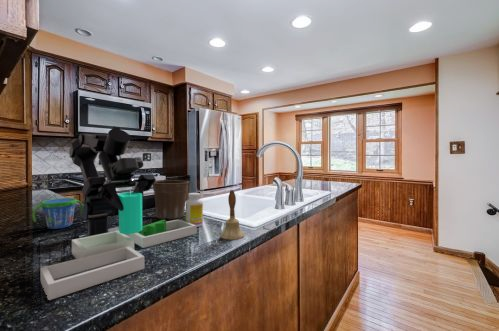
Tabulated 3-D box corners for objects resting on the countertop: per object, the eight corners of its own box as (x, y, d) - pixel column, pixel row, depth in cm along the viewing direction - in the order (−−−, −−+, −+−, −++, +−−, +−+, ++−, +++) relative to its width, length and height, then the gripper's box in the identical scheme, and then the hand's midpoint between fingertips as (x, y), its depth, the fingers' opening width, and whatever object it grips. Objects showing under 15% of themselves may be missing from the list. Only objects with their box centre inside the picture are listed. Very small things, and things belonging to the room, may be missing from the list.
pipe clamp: (147, 243, 76) (146, 228, 76) (138, 241, 77) (138, 227, 77) (171, 233, 86) (171, 220, 86) (163, 231, 88) (163, 219, 88)
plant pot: (174, 211, 121) (174, 179, 121) (196, 215, 112) (196, 181, 111) (144, 217, 108) (144, 181, 107) (166, 223, 99) (166, 184, 98)
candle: (115, 230, 68) (114, 188, 67) (136, 225, 72) (136, 186, 71) (124, 235, 64) (123, 191, 63) (146, 230, 68) (145, 188, 68)
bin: (71, 254, 66) (71, 239, 66) (118, 243, 75) (118, 230, 75) (83, 267, 58) (83, 251, 58) (134, 253, 67) (134, 239, 67)
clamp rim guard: (127, 238, 79) (127, 229, 79) (178, 227, 93) (178, 219, 93) (143, 248, 71) (143, 238, 71) (196, 233, 85) (196, 225, 85)
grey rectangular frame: (40, 281, 52) (40, 267, 51) (128, 256, 65) (128, 245, 65) (48, 300, 45) (48, 284, 45) (144, 268, 58) (144, 256, 58)
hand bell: (234, 241, 78) (235, 192, 77) (215, 236, 82) (215, 190, 82) (248, 234, 85) (249, 190, 84) (230, 230, 89) (230, 188, 89)
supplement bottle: (206, 225, 97) (206, 193, 96) (194, 228, 91) (194, 195, 91) (194, 222, 100) (194, 191, 100) (182, 226, 95) (182, 193, 94)
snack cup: (34, 234, 83) (34, 205, 82) (31, 228, 90) (30, 201, 90) (87, 225, 94) (87, 199, 94) (80, 220, 101) (80, 196, 101)
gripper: (86, 146, 61) (106, 194, 55) (153, 148, 77) (174, 187, 71) (74, 174, 66) (91, 221, 60) (139, 171, 81) (157, 209, 76)
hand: (132, 208), depth 67 cm, fingers closed on candle, 5 cm apart
